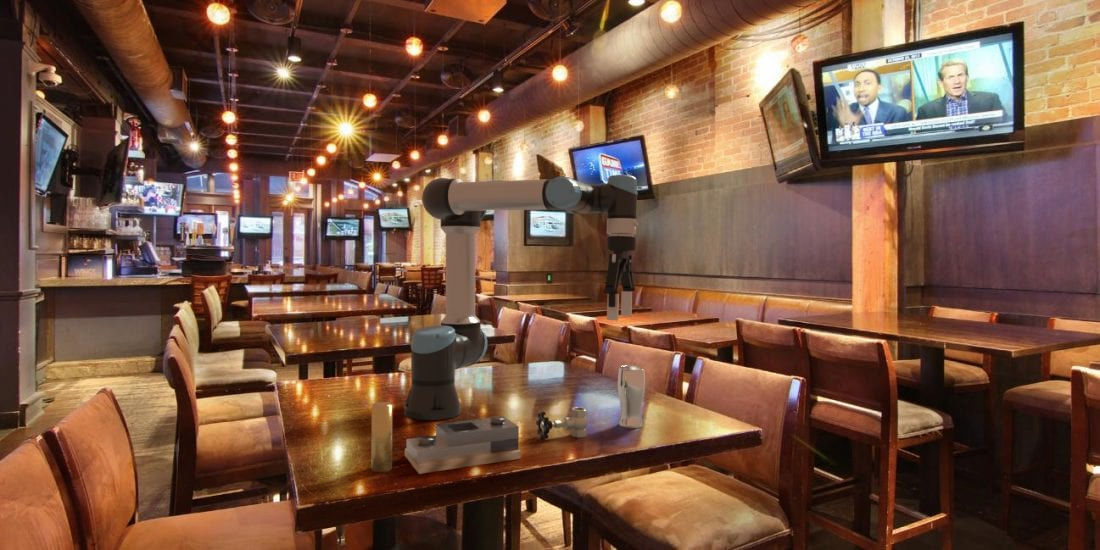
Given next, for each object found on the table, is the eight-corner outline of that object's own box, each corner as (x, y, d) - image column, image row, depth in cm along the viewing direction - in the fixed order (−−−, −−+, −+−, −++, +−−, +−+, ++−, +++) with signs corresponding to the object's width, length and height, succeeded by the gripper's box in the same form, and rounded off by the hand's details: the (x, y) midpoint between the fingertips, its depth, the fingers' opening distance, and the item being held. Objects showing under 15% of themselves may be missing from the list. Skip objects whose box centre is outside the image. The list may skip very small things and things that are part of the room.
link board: (419, 473, 117) (419, 466, 117) (404, 455, 128) (404, 448, 128) (521, 458, 127) (521, 451, 127) (499, 442, 138) (499, 436, 138)
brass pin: (367, 470, 119) (367, 405, 118) (380, 464, 122) (380, 401, 122) (383, 473, 117) (383, 407, 117) (396, 466, 121) (396, 403, 120)
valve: (580, 431, 148) (535, 435, 144) (581, 404, 148) (536, 408, 144) (592, 438, 142) (545, 443, 138) (592, 411, 142) (546, 415, 138)
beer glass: (643, 429, 150) (644, 370, 150) (615, 427, 151) (616, 369, 151) (644, 422, 157) (645, 365, 156) (618, 420, 158) (619, 364, 158)
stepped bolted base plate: (417, 463, 118) (417, 434, 118) (406, 450, 126) (406, 422, 126) (518, 449, 128) (518, 421, 128) (502, 437, 136) (502, 411, 136)
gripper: (623, 233, 141) (621, 323, 141) (646, 237, 164) (644, 314, 164) (592, 233, 143) (591, 321, 144) (620, 237, 167) (618, 313, 167)
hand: (619, 317), depth 154 cm, fingers open, 13 cm apart
